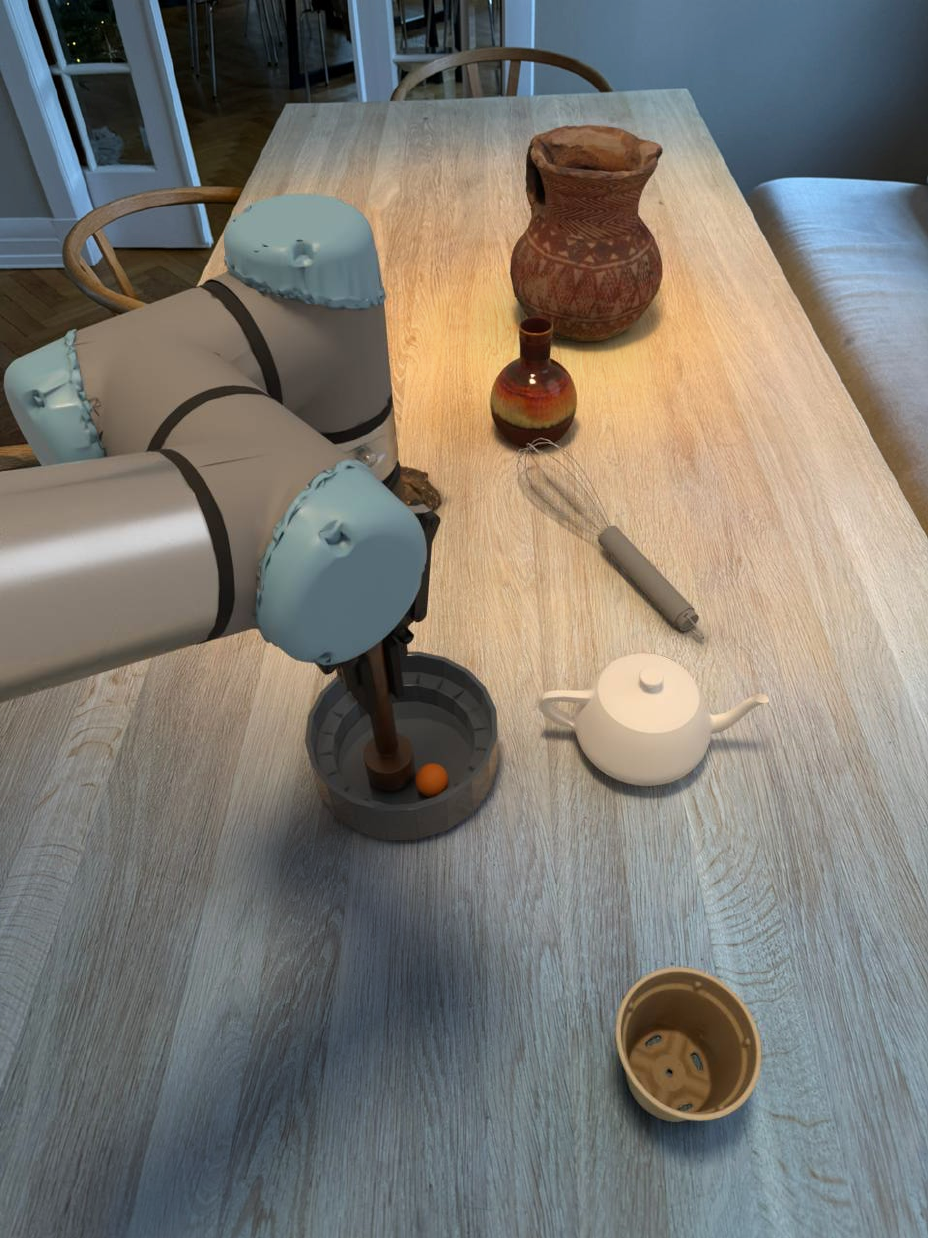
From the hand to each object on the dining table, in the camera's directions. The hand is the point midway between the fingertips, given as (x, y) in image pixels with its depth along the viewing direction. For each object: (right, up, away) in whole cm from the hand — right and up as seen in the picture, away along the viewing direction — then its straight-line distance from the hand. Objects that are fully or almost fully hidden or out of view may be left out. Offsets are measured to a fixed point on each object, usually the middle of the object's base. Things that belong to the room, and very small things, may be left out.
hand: (378, 694), depth 72 cm
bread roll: (-2, +20, +36) cm, 41 cm away
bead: (+4, -8, +7) cm, 11 cm away
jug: (+25, +52, +63) cm, 85 cm away
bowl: (+2, -7, +11) cm, 13 cm away
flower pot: (+22, -27, -8) cm, 36 cm away
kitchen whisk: (+23, +15, +30) cm, 40 cm away
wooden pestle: (0, -8, +8) cm, 11 cm away
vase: (+16, +31, +44) cm, 56 cm away
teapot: (+24, -6, +12) cm, 27 cm away
